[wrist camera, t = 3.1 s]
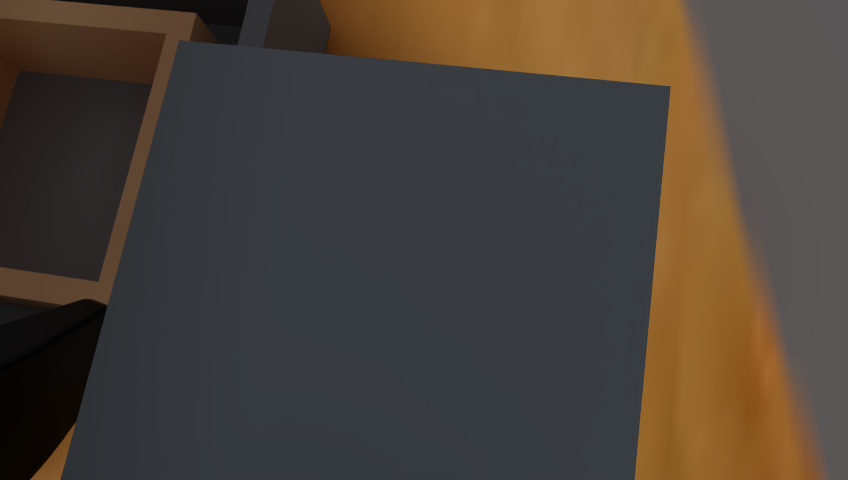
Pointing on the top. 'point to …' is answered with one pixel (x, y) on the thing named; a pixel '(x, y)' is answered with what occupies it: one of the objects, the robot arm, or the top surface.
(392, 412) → the plug
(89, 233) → the walled box
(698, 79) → the top surface
